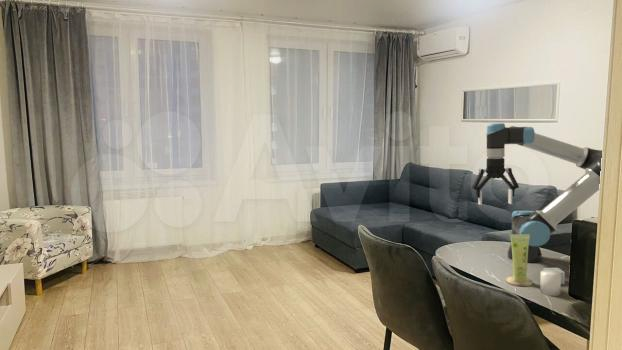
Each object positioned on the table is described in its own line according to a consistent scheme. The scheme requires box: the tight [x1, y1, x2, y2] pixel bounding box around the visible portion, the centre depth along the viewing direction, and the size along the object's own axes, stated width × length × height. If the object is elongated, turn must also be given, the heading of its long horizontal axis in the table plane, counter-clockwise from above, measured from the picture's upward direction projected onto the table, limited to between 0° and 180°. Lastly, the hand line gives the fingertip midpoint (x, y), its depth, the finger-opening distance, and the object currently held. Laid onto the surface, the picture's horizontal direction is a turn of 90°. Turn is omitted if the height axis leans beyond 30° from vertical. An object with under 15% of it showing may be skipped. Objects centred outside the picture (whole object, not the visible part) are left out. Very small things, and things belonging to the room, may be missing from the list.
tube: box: [509, 233, 530, 282], centre depth 187 cm, size 6×5×20 cm
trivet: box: [505, 275, 533, 287], centre depth 188 cm, size 10×10×1 cm
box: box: [542, 267, 566, 285], centre depth 187 cm, size 6×6×5 cm
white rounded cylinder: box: [539, 269, 562, 297], centre depth 175 cm, size 7×7×8 cm
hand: (495, 204), depth 207 cm, fingers open, 13 cm apart
